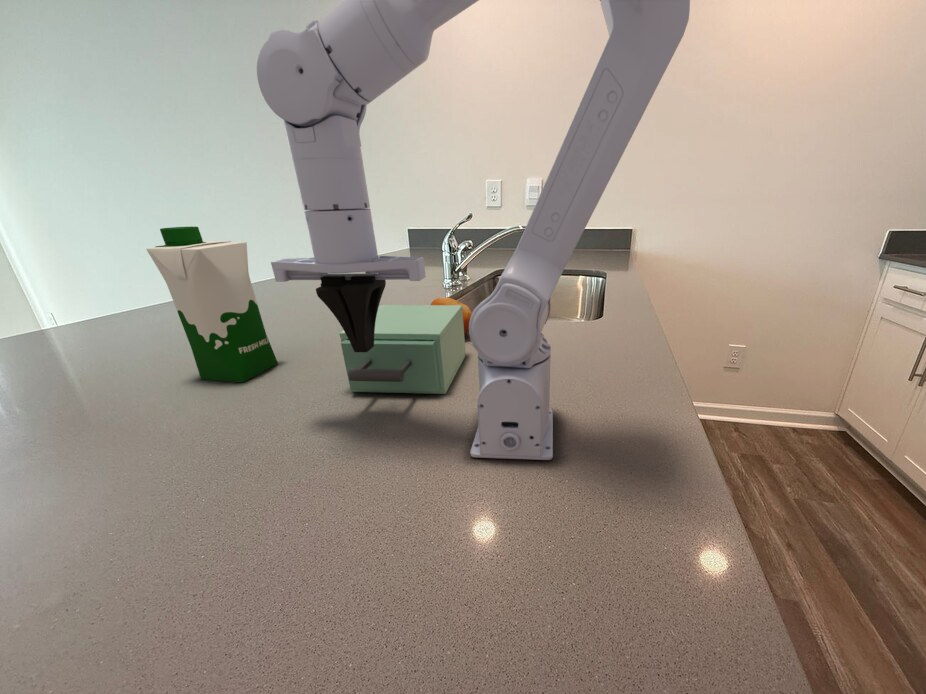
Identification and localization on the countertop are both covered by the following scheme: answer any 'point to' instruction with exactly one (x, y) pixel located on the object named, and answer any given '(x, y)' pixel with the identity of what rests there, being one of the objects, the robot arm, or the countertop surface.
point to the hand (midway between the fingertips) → (364, 349)
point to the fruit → (450, 301)
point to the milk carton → (215, 304)
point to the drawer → (393, 366)
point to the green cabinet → (425, 335)
